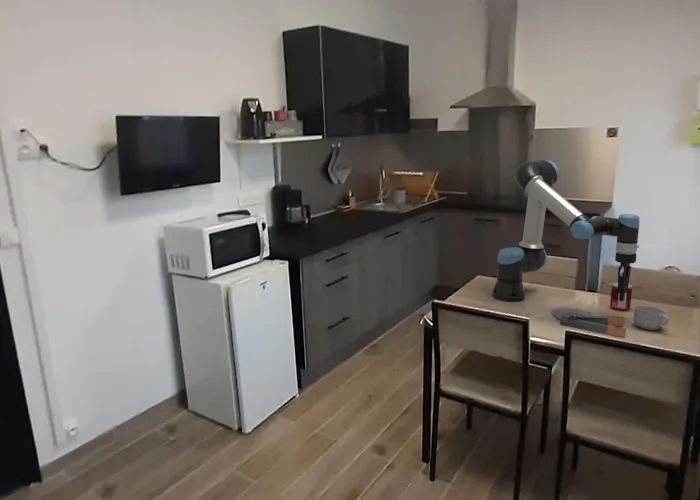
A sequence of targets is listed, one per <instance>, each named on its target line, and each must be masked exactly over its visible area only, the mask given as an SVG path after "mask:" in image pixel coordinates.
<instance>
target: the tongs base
mask: <svg viewBox="0 0 700 500" xmlns="http://www.w3.org/2000/svg"><path fill="white" fill-rule="evenodd" d="M571 314H573V313H571V312H568V311H565V312H564V313H563V314H561V316H560V324H559V325H561V326H566V327H569V328H570V327H571V328H577V329H582V330H586V331H591V332H595V333H600V334H603V335H604V334H605V335H609V336H614V337H618V338H625V337H626V333H627V332H626V331H627V328H626V327H624V326H612V325H604V324H599V323H594V322H589V321H584V320H579V319H575V318H572V317H571Z"/></svg>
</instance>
